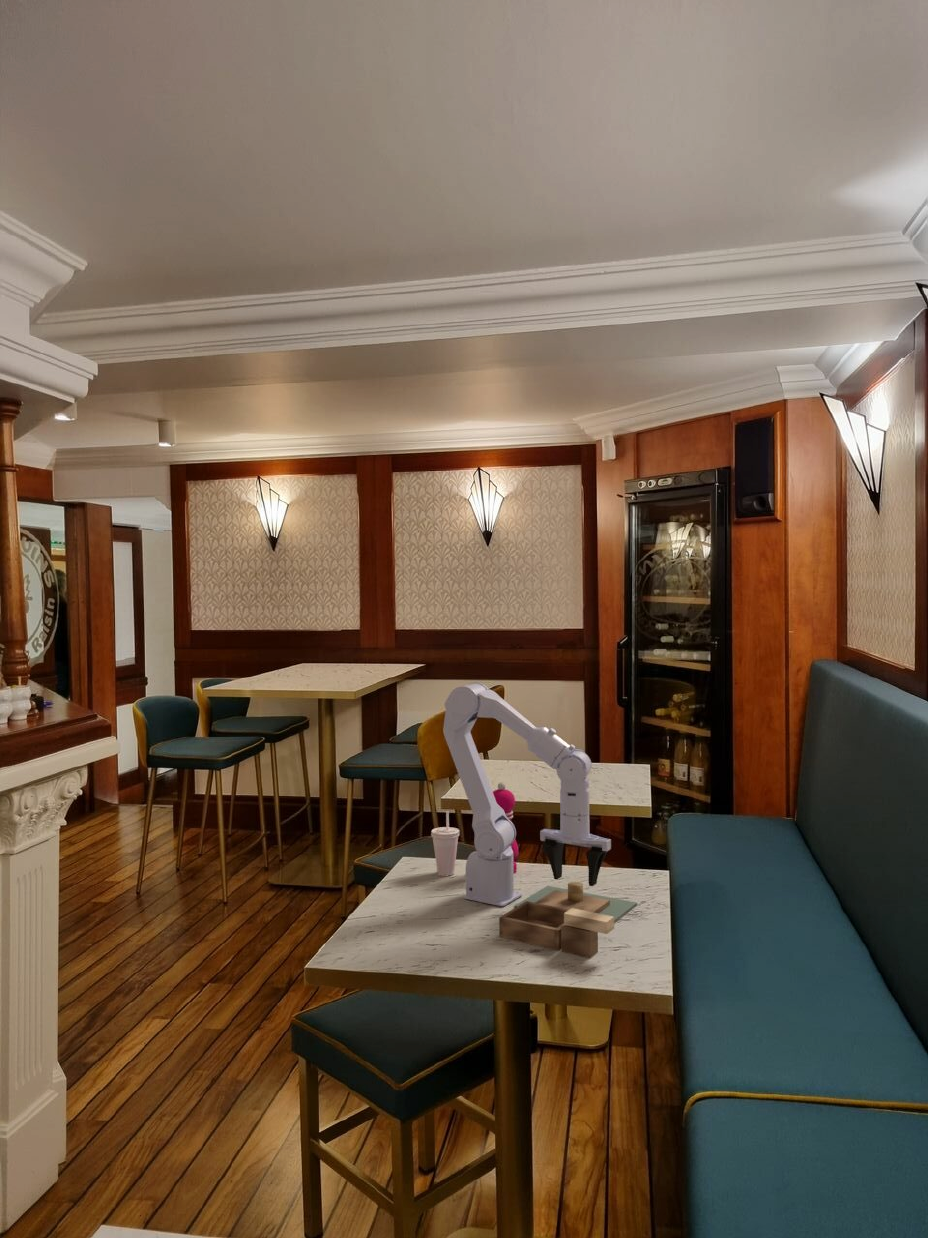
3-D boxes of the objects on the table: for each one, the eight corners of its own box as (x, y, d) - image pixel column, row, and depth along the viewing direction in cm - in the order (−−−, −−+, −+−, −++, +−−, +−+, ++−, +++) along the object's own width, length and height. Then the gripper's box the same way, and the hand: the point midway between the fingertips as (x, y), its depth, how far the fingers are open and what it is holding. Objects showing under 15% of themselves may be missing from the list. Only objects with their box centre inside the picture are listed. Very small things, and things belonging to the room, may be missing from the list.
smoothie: (456, 879, 190) (456, 815, 190) (428, 877, 191) (427, 814, 191) (462, 870, 196) (461, 808, 196) (435, 868, 198) (434, 807, 197)
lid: (531, 909, 169) (531, 889, 169) (555, 894, 177) (554, 875, 177) (588, 921, 162) (588, 900, 162) (609, 905, 171) (609, 885, 171)
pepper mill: (509, 878, 190) (507, 787, 190) (480, 873, 194) (479, 784, 193) (524, 869, 196) (523, 781, 196) (496, 864, 200) (495, 778, 199)
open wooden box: (499, 936, 157) (499, 912, 157) (526, 919, 165) (526, 895, 165) (590, 958, 147) (590, 931, 147) (614, 938, 155) (614, 913, 155)
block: (564, 925, 150) (563, 913, 150) (571, 919, 152) (571, 908, 152) (607, 934, 145) (606, 922, 145) (614, 928, 148) (614, 916, 148)
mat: (514, 908, 171) (514, 905, 171) (547, 888, 183) (547, 885, 183) (608, 928, 160) (608, 925, 160) (637, 905, 172) (637, 902, 172)
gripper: (532, 812, 172) (533, 880, 172) (600, 822, 164) (600, 893, 164) (549, 805, 178) (549, 871, 178) (615, 814, 170) (615, 883, 170)
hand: (575, 881), depth 172 cm, fingers open, 7 cm apart
